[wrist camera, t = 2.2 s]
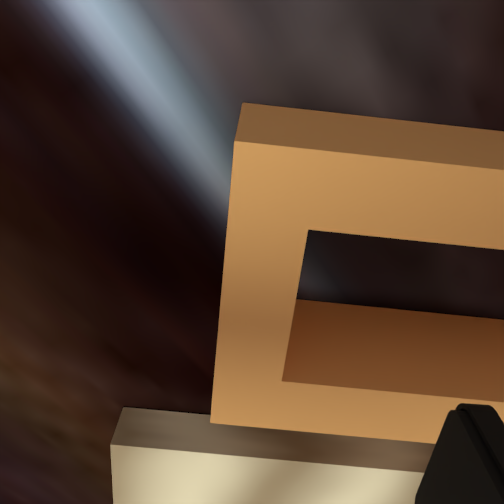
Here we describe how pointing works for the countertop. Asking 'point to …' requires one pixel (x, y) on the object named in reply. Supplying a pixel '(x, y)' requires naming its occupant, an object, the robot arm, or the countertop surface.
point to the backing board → (256, 464)
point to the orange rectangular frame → (345, 315)
